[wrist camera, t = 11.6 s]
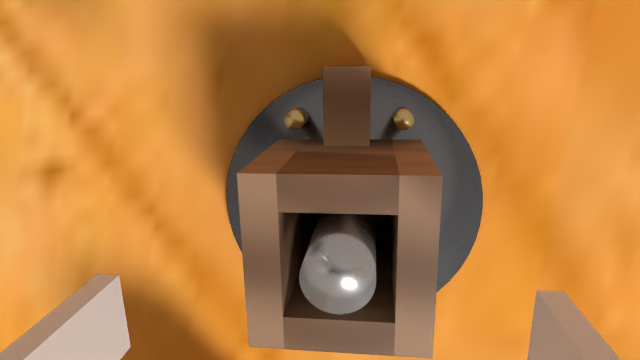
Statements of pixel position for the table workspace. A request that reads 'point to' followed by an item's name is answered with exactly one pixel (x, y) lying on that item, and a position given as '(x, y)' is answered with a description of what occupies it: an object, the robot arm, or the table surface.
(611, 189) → the table surface
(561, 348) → the robot arm
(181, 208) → the table surface
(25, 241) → the table surface
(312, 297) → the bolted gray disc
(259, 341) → the collar
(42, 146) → the table surface
